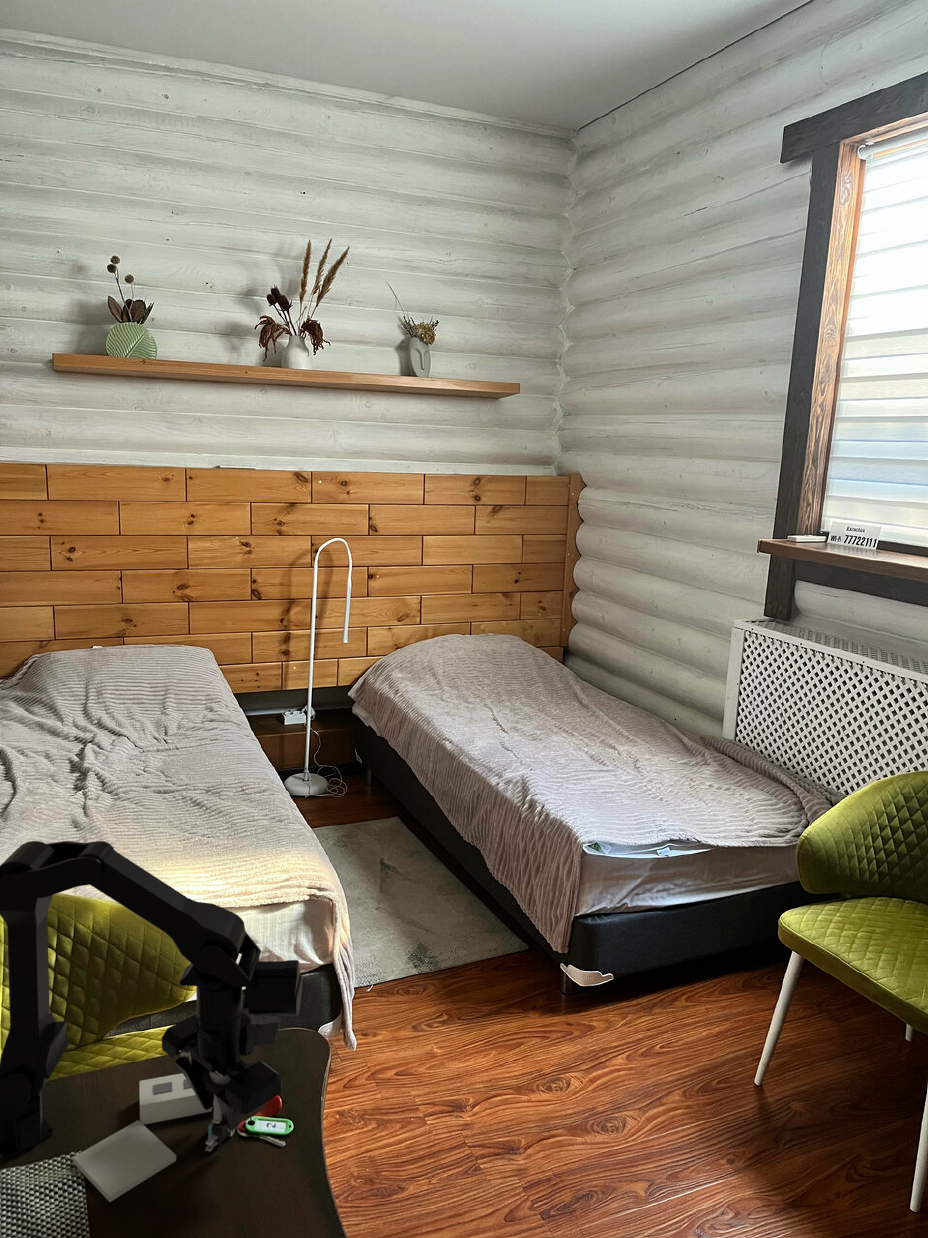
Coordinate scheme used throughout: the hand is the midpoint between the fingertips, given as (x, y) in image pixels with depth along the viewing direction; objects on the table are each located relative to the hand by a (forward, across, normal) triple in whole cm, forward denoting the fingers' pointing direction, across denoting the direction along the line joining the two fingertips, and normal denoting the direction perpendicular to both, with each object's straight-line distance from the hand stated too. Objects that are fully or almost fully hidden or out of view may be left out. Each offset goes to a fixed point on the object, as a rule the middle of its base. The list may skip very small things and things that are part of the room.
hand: (220, 1118), depth 121 cm
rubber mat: (+3, +5, +11) cm, 12 cm away
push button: (+3, 0, 0) cm, 3 cm away
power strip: (+3, +8, -1) cm, 8 cm away
